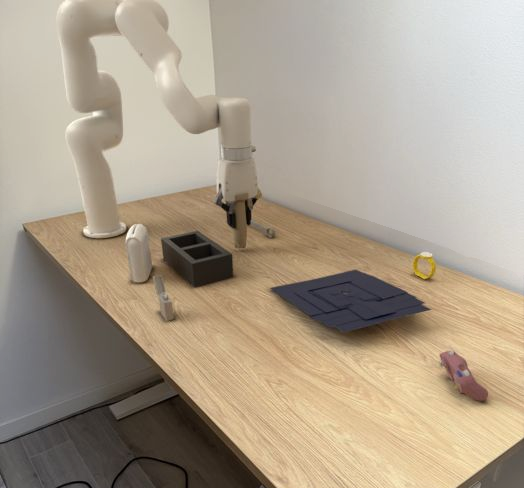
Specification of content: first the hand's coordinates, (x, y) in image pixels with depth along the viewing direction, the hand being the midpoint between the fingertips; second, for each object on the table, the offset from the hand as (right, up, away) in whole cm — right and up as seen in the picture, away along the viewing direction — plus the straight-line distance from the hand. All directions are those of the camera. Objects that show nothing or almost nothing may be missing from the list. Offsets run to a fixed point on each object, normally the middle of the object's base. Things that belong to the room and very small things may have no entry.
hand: (239, 224), depth 137 cm
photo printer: (-24, -15, -8) cm, 29 cm away
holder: (-11, -12, -5) cm, 17 cm away
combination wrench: (+4, +3, +19) cm, 19 cm away
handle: (0, -5, +4) cm, 6 cm away
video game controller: (+40, -40, -48) cm, 75 cm away
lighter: (-15, -26, -25) cm, 39 cm away
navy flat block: (+25, -24, -24) cm, 42 cm away
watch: (+45, -16, -12) cm, 49 cm away
